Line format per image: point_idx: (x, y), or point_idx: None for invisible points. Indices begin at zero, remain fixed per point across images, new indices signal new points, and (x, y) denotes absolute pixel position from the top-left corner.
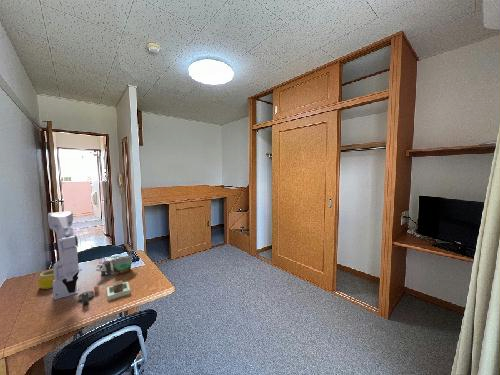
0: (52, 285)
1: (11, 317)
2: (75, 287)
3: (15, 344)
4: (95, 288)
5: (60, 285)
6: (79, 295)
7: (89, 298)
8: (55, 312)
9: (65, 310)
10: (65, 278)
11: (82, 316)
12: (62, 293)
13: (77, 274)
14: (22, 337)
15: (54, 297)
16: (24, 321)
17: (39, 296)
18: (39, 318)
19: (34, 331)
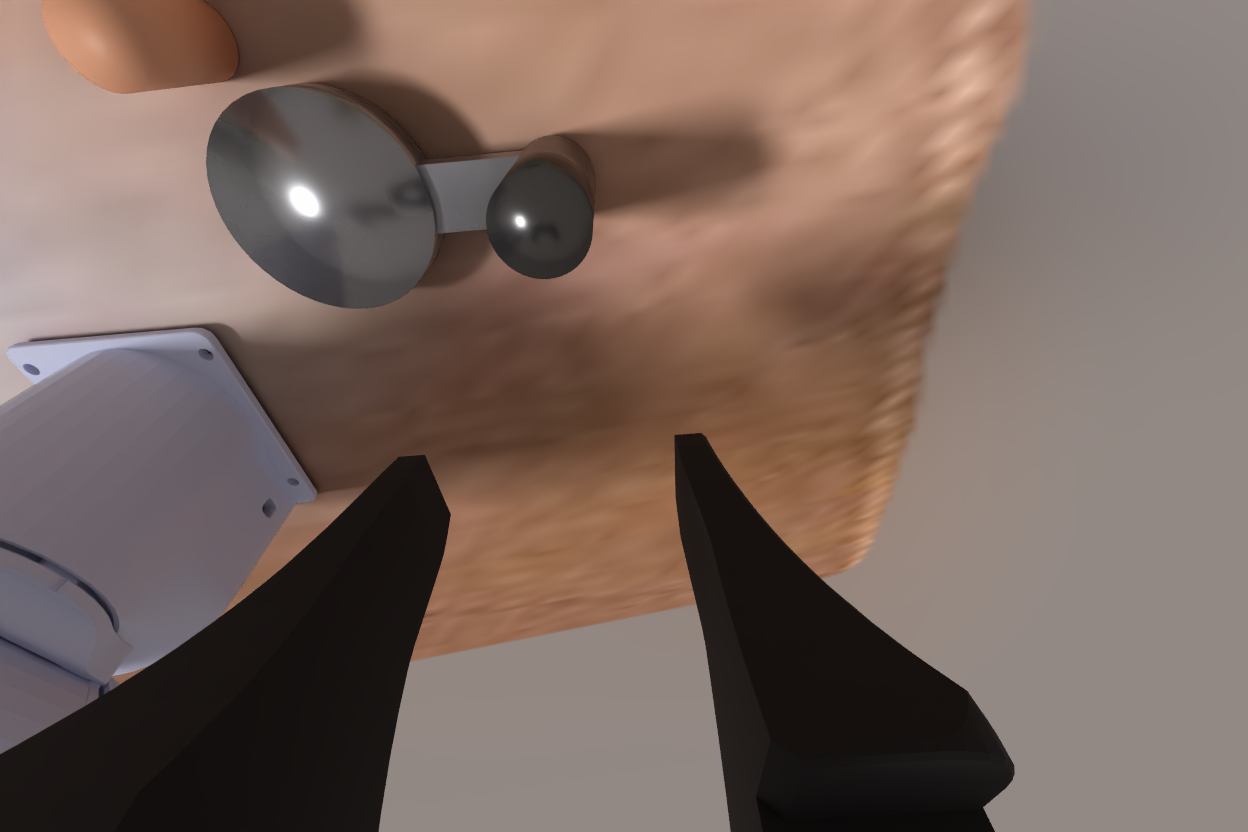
0: None
1: (497, 626)
2: (712, 481)
3: (860, 544)
4: (169, 56)
5: (179, 568)
6: (336, 297)
7: (414, 145)
8: (573, 439)
9: (582, 373)
10: (60, 615)
11: (852, 181)
12: (245, 472)
13: (252, 686)
14: (807, 534)
15: (292, 504)
16: (594, 569)
17: None
18: (608, 512)
19: (785, 499)
